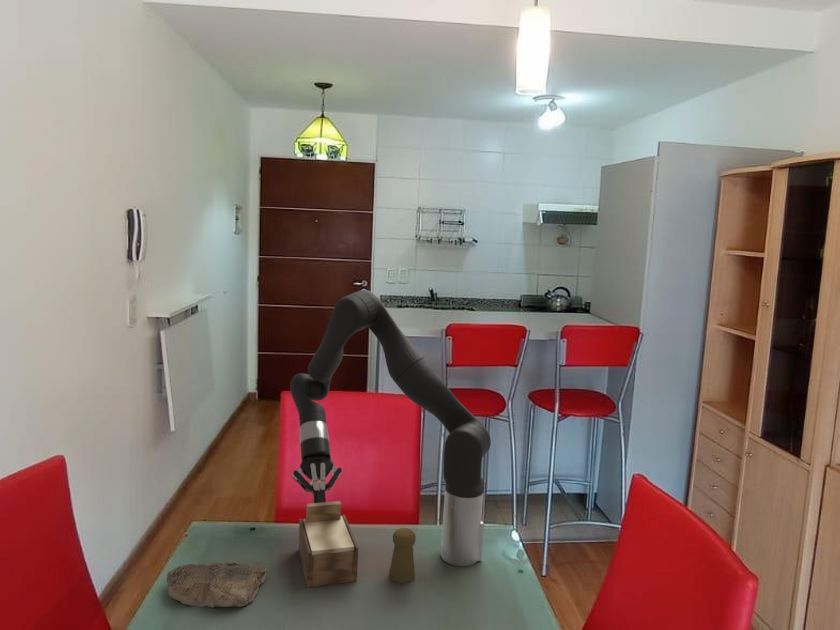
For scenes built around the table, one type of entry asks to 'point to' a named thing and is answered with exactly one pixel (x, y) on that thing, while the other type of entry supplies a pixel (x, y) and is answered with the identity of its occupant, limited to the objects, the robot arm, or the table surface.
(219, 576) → the clay tablet
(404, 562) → the tan pawn
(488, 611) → the table surface
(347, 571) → the lid box
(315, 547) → the cover plate
